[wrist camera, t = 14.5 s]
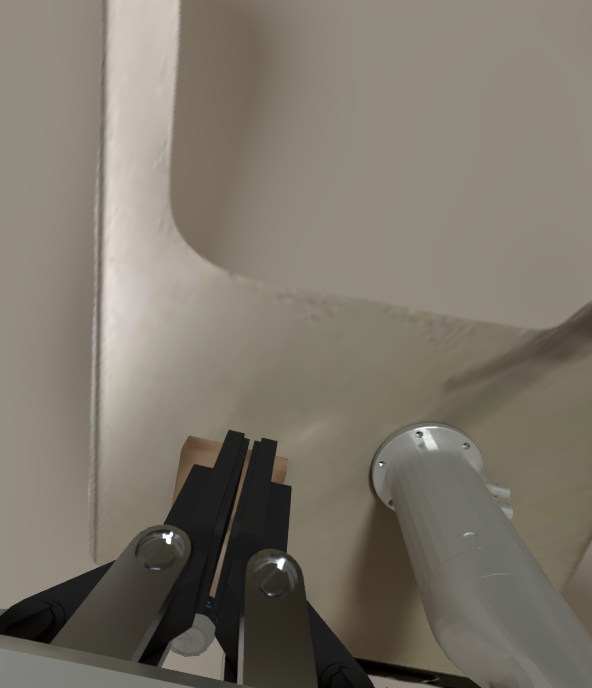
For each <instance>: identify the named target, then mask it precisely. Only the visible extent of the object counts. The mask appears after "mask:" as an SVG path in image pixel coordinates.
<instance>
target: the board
mask: <svg viewBox="0 0 592 688" xmlns="http://www.w3.org/2000/svg"><path fill="white" fill-rule="evenodd" d="M222 445H223V444H222V443H218V442H213V441H209V440H205V439H201V438H196V437H192V436H189V437H188V438H187V440H186V442H185V443H184V445H183V447H182V450H181V456H180V462H179V468H178V473H177V479H176V485H175V491H174V497H173V503H172V506H173V504H174V502H175V500H176V498H177V496H178V494H179V492H180V490H181V488H182V486H183V484H184V482H185V480H186V479H187V477H188V475H189V473H190V471H191V469H192V467H193V465H194V464H198V465H202V466H206V467H211V468H213V467H214V465H215V462H216V460H217V457H218V455H219V452H220V450H221V448H222ZM251 453H252V450H247V453H246V458H245V462H244V466H243V470H242V475H241V479H240V483H239V487H238V492H237V496H236V500H235V504H234V508H233V512H232V516H231V519H230V523H229V526H228V530H227V533H226V537H225V541H224V543H225V544H227V543H228V539H229V535H230V531H231V527H232V523H233V519H234V516H235V512H236V508H237V505H238V501H239V497H240V493H241V490H242V486H243V482H244V479H245V475H246V471H247V467H248V464H249V460H250V456H251ZM287 460H288V459H286V458H281V457H277V456H275V460H274V467H273V473H272V479H271V482H275V483H279V484H283V482H284V479H285V475H286V470H287Z"/></svg>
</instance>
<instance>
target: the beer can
mask: <svg viewBox="0 0 592 688" xmlns="http://www.w3.org/2000/svg"><path fill="white" fill-rule="evenodd" d="M226 547H227V544H225V543H224V544H223V548H222V551H221V555H220V558H219V562H218V566H217V569H216V573H215V576H214V580H213V583H212V587H211V591H210V594H209V598H208V601H207V605H206V608H205V612H204V615H201V614H196V615H195V618H194V622H193V625H192V628H189V630H187V631H185V632H184V633H182V634H181V635H179V636H178V637H176V638H175V639H173V642H172V645H171V648H170V649H171V650H172V651H173V652H175V653H177V654H180V655H182V656H185V657H186V656H198V655H200V654H201V653H203V652H204V651H206V650H207V647H209V645H210V644H211V643H212V642H213V640H214V638H215V635H214V633H215V628H216V624H217V620H218V618H215V617H210V614H211V610H212V606H213V602H214V598H215V593H216V589H217V585H218V581H219V577H220V572H221V568H222V564H223V560H224V556H225V552H226Z"/></svg>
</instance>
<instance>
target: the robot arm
mask: <svg viewBox="0 0 592 688" xmlns="http://www.w3.org/2000/svg"><path fill="white" fill-rule="evenodd" d="M244 435H245V433H240V432H236V431H232V430H229V431H228V433H227V435H226V438H225V440H224V443H223V445H222V448H221V450H220V452H219V455H218V457H217V460H216V462H215V465H214V467H213V468H211V467H206V466H202V465H198V464H194V465H193V467H192V469H191V471H190V473H189V475H188V477H187V479H186V480H185V482H184V484H183V486H182V488H181V490H180V492H179V494H178V496H177V498H176V500H175V502H174V504H173V506H172V508H171V510H170V512H169V514H168V516H167V518H166V520H165V522H164V524H163V525H156V526H152V527H148V528H147V529H145V530H143V531H141V532H140V533H139V534H138V535H137V536H135V537H134V538H133V540H132V541H131V542H130V543H129V545H128V546H127V547H126V548H125V550H124V551H123V552H122V553H121V555H120V556H119V557H118V559H117V560H114V561H112V562H110V563H107V564H105V565H103V566H100V567H98V568H96V569H94V570H91V571H89V572H87V573H84V574H82V575H80V576H77V577H75V578H73V579H70V580H68V581H66V582H63V583H61V584H59V585H56V586H54V587H52V588H49V589H47V590H45V591H42V592H40V593H38V594H35V595H33V596H31V597H28V598H26V599H24V600H22V601H20V602H19V603H17V604H15V605H13V606H11V607H10V608H9V609H0V688H375V687H374V685H373V683H372V682H371V680H370V679H369V677H368V676H367V674H366V673H365V671H364V670H363V669H362V668H361V666H360V665H359V664H358V663H357V661H356V660H355V659H354V658H353V657H352V655H351V654H350V653H349V652H348V650H347V649H346V648H345V647H344V645H343V644H342V643H341V642H340V640H339V639H338V638H337V637H336V635H335V634H334V633H333V632H332V631H331V629H330V628H329V627H328V626H327V624H326V623H325V622H324V621H323V619H322V618H321V617H320V616H319V614H318V613H317V612H316V611H315V609H314V608H313V607H312V606H311V605H310V603H309V602H308V601H307V599H306V592H305V584H304V577H303V573H302V570H301V567H300V566H299V564H298V563H297V561H296V560H295V559H294V558H293V557H292V556H290V555H289V554H287V542H288V529H289V516H290V503H291V486H288V485H284V484H279V483H275V482H271V479H272V473H273V467H274V460H275V454H276V448H277V441H274V440H270V439H266V438H262V440H261V442H259V441H254V445H253V449H252V453H251V456H250V460H249V464H248V467H247V471H246V475H245V479H244V482H243V486H242V490H241V493H240V497H239V501H238V505H237V508H236V512H235V516H234V519H233V523H232V527H231V531H230V535H229V539H228V543H227V547H226V552H225V556H224V560H223V564H222V568H221V572H220V577H219V581H218V585H217V589H216V593H215V598H214V602H213V606H212V610H211V614H210V617H215V618H218V620H217V624H216V628H215V633H214V635H215V637H216V638H217V640H218V642H219V644H220V645H221V647H222V649H223V651H224V654H223V659H222V667H221V680H216V679H212V678H207V677H202V676H198V675H193V674H188V673H183V672H179V671H174V670H169V669H165V668H161V667H162V665H163V663H164V661H165V659H166V657H167V655H168V653H169V651H170V648H171V645H172V642H173V639H175V638H176V637H178V636H179V635H181V634H182V633H184V632H185V631H187V630H189V628H192V625H193V622H194V618H195V615H196V614H201V615H204V612H205V608H206V605H207V601H208V598H209V594H210V591H211V587H212V583H213V580H214V576H215V573H216V569H217V566H218V562H219V558H220V555H221V551H222V548H223V544H224V541H225V537H226V533H227V530H228V526H229V523H230V519H231V516H232V512H233V508H234V504H235V500H236V496H237V492H238V487H239V483H240V479H241V475H242V470H243V466H244V462H245V458H246V453H247V449H248V445H249V441H250V439H246V438H244ZM372 480H373V484H374V488H375V490H376V493H377V495H378V496H379V498H380V499H381V501H382V502H383V503H384V504H385V505H386V506H387V507H388V508H390V509H391V510H393V511H395V512H396V515H397V518H398V522H399V525H400V528H401V532H402V535H403V539H404V542H405V545H406V549H407V552H408V555H409V559H410V562H411V565H412V569H413V572H414V576H415V579H416V582H417V586H418V589H419V592H420V596H421V599H422V602H423V606H424V610H425V613H426V616H427V620H428V623H429V626H430V628H431V631H432V633H433V635H434V637H435V639H436V641H437V643H438V645H439V646H440V648H441V649H442V650H443V652H444V653H445V655H446V656H447V657H448V658H449V659H450V660H451V662H452V663H453V664H454V665H455V666H456V667H457V668H458V669H459V670H461V671H462V672H463V673H464V674H465V675H466V676H468V677H469V678H470V679H471V680H473V681H474V682H475V683H477V684H478V685H479V686H481V687H482V688H592V638H591V637H590V635H589V634H588V633H587V632H586V630H585V629H584V627H583V626H582V624H581V623H580V622H579V620H578V619H577V618H576V616H575V615H574V614H573V612H572V611H571V609H570V608H569V607H568V605H567V604H566V603H565V601H564V600H563V598H562V597H561V595H560V594H559V592H558V591H557V590H556V588H555V587H554V585H553V584H552V582H551V581H550V579H549V578H548V576H547V575H546V573H545V572H544V571H543V569H542V568H541V566H540V565H539V563H538V562H537V560H536V559H535V557H534V556H533V554H532V553H531V551H530V550H529V548H528V547H527V546H526V544H525V543H524V541H523V540H522V538H521V537H520V535H519V534H518V532H517V531H516V529H515V528H514V526H513V525H512V523H511V522H510V521H511V519H512V517H513V510H512V508H511V506H510V505H509V504H506V503H502V502H498V501H496V500H495V498H494V497H493V496H495V497H499V498H503V499H508V498H509V497H510V489H509V487H507V486H504V485H500V484H493V483H490V482H489V480H488V479H487V477H486V476H485V475H484V465H483V459H482V457H481V454H480V452H479V450H478V448H477V447H476V446H475V444H474V443H473V442H472V441H471V439H470V438H469V437H468V436H467V435H465V434H464V433H463V432H461V431H460V430H458V429H456V428H453V427H451V426H448V425H444V424H439V423H422V424H416V425H412V426H409V427H406V428H404V429H402V430H400V431H398V432H396V433H395V434H393V435H392V436H390V437H389V438H388V439H387V440H386V441H385V442H384V443H383V444H382V445H381V447H380V448H379V450H378V451H377V453H376V455H375V457H374V460H373V464H372Z"/></svg>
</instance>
